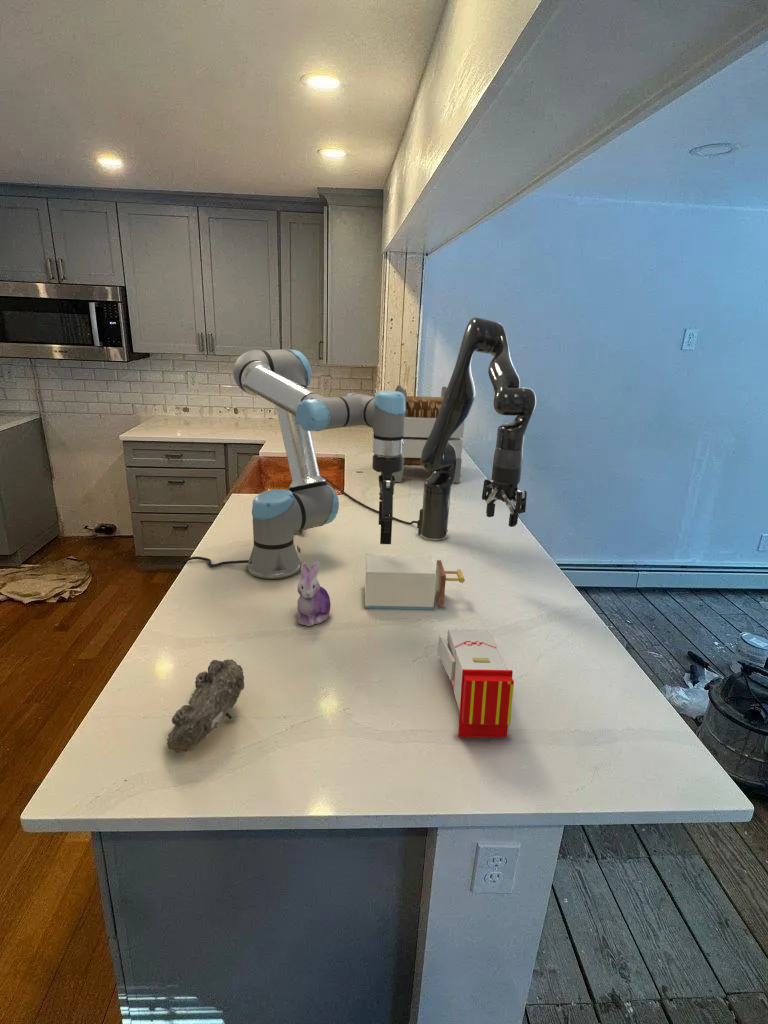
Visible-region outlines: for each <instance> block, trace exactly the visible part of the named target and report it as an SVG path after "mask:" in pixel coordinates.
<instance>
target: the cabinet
mask: <svg viewBox="0 0 768 1024" xmlns="http://www.w3.org/2000/svg"><path fill="white" fill-rule="evenodd" d="M435 584H436V566H435V564H434V560H433V557H432V555H408V554H407V555H405V554H403V555H401V554H365V568H364V609H381V610H382V609H388V610H389V609H390V610H434V608H435V597H436V592H435Z"/></svg>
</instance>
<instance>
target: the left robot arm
mask: <svg viewBox="0 0 768 1024" xmlns="http://www.w3.org/2000/svg"><path fill="white" fill-rule="evenodd" d="M232 376H233V380H234V381H235V383H236V385H237V386H238V387H239V388H240V389H241V390H242V391H243V392H245V393H246V394H248V395H250V396H254V397H257V396H258V397H259V396H260V397H261V398H263V399H265V400H266V401H268V402H269V403H272V404H273V405H275V407H276V412H277V417H278V422H279V426H280V431H281V435H282V440H283V445H284V450H285V454H286V459H287V463H288V468H289V472H290V477H291V482H290V484H289V486H288V489H287V488H286V489H285V488H278V489H275V488H273V489H268V490H264V491H261V492H259V493H258V494H256V495H255V497H254V499H253V500H252V507H251V515H252V535H253V536H252V537H253V546H252V550H251V552H250V556H249V559H244V560H243V559H242V560H241V559H240V560H227V561H220V562H216V563H212V560H211V559H210V558H208V557H204V556H189V557H187V558H185V559H184V560H182V561H181V564H186V563H187V562H190V561H195V560H199V561H205V562H207V565H208V567H211V568H217V567H220V566H224V565H235V564H236V565H237V564H247V567H248V568H247V571H248V573H249V574H250V575H252V576H254V577H256V578H259V579H264V580H280V579H282V580H283V579H286V578H290V577H292V576H294V575H296V574H297V573H298V572H299V571H301V560H300V557H299V555H298V553H299V554H301V547H300V546H299V545H295V533H297V532H300V531H302V532H303V531H306V530H309V529H313V528H317V527H318V528H319V527H323V526H324V525H327V524H330V523H332V522H333V521H334V520H335V519H336V517H337V515H338V513H339V507H340V502H339V496H338V493H337V491H335V489H334V487H333V486H332V485H328V481H326V479H327V478H326V479H324V478H325V477H324V476H323V477H324V478H323V477H321V476H322V475H321V473H320V469H319V464H318V459H317V455H316V450H315V445H314V440H313V436H312V432H321V431H323V430H324V431H326V430H333V429H340V428H347V427H355V426H366V427H369V428H373V436H372V453H373V455H372V464H371V465H372V466H371V467H372V470H373V471H375V472H377V473H380V475H378V487H379V492H378V495H379V498H378V499H379V502H378V511H379V513H378V526H379V525H380V535H379V536H380V538H379V543H380V545H392V534H393V531H392V530H393V520H394V519H393V517H394V516H393V515H394V513H393V511H394V493H395V484H396V482H395V479H394V476H392V473H395V472H396V473H397V472H400V471H401V470H402V462H403V457H402V456H401V454H402V453H403V447H402V446H405V445H406V443H405V442H403V438H404V422H405V412H406V409H405V395H404V394H403V393H401V392H398V391H395V390H379V391H376V392H375V393H374V396H372V395H367V394H363V393H360V392H357V393H356V392H350V393H347V394H346V395H345V396H344V395H343V396H332V397H331V396H330V397H325V396H322V395H320V394H318V393H316V392H315V391H313V390H310V389H309V388H308V387H309V386H310V384H311V381H312V368H311V364H310V362H309V360H308V358H307V356H305V354H303V353H302V352H301V351H299V350H297V349H289V348H283V349H252V350H248V351H246V352H244V353H242V354H241V355H240V356H239V357H238V358H237V360H236V361H235V363H234V366H233V369H232ZM320 475H321V476H320Z"/></svg>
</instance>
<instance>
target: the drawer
mask: <svg viewBox="0 0 768 1024" xmlns="http://www.w3.org/2000/svg"><path fill="white" fill-rule="evenodd" d="M435 571H436V584H435V597H436V599H437V603H438V606H444V605H445V604H444V603H445V593H446V592H445V591H446V582H447V581H448V582H459V583H461V584H463V583H465V582H466V578H465V575H464V574H463V571H462V569H460V568H459V569H457V570H445V568H444V565H443V561H442V560H441V559H436V565H435ZM447 575H456V576H457V577H447Z"/></svg>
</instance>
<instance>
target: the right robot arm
mask: <svg viewBox="0 0 768 1024" xmlns="http://www.w3.org/2000/svg"><path fill="white" fill-rule="evenodd" d="M459 347H460V348H459V351H458V353H457V358H456V361H455V364H454V368H453V371H452V374H451V377H450V379H449V381H448V385H447V386H446V387H447V390H446V392H445V395H444V398H443V401H442V404H441V407H440V410H439V413H438V416H437V418H436V421H435V424H434V426H433V429H432V431H431V433H430V435H429V437H428V439H427V441H426V443H425V446H424V448H423V450H422V454H421V464H422V466H421V467H422V468H423V470H424V471H426V472H428V473H431V475H430V476H429V477H427V478H426V479H425V480H424V482H423V493H422V496H423V497H422V506H421V508H420V509H419V516H418V520H412V521H411V522H410V521H409V522H408V521H406V520H402V519H399V518H397V517H394V516H393V520H394V521H397V522H400V523H402V524H405V525H413V524H416V528H417V529H418V530H417V535H418V536H420V538H421V539H424V540H426V541H432V542H440V541H444V540H446V539H447V538H448V532H449V529H448V525H449V517H450V516H449V514H450V504H451V494H452V493H451V491H452V486H453V484H454V483H453V482H454V477H455V470H456V462H457V455H456V450H455V448H454V446H453V445H452V444H450V443H448V440H449V439H450V437H451V436H452V434H453V433H454V432H455V431H456V430H457V428H458V427H459V426H460V425H461V424H462V423H463V421H464V420H465V421H466V419H467V417H468V416H469V415H470V412H471V409H472V406H473V404H474V402H475V399H476V387H475V381H474V379H473V374H472V360H473V355H474V352H477V353H481V354H486V355H487V354H488V355H491V356H492V358H491V361H490V362H489V365H488V367H487V373H488V378H489V380H490V383H491V386H492V387H493V408H494V411H495V412H496V413H497V414H498V415H500V416H506V417H507V416H511V417H512V416H515V418H514V419H513V420H512V421H511V422H508V423H507V422H506V423H503V424H500V425H499V426H498V428H497V432H496V442H495V443H496V444H495V449H494V453H493V461H492V471H491V478H487V479H484V480H483V486H482V494H481V499H482V500H483V501H485V503H486V509H485V510H486V511H485V513H486V517H488V518H493V517H494V516H495V511H496V501H497V500H498V501H501V502H502V503H505V505H506V507H507V508H508V510H509V512H510V513H509V516H508V517H509V518H508V527H510V528H513V527H516V526H517V525H518V522H519V521H518V520H519V514H523V513H526V507H527V498H528V497H527V496H528V492H527V491H526V490H519V487H518V485H519V484H520V482H521V475H522V467H523V460H524V443H525V436H526V432H527V429H528V426H529V423H530V421H531V418H532V416H533V414H534V411H535V408H536V406H537V397H536V393H535V391H534V390H533V389H531V388H530V387H529V388H528V387H521V380H520V376H519V374H518V373H517V371H516V367H515V366H514V364H513V361H512V358H511V353H510V347H509V342H508V337H507V333H506V329H505V327H504V326H503V324H502V323H500V322H498V321H495V320H490V319H486V318H481V317H472V318H471V319H470V320H469V321H468V323H467V324H466V327H465V330H464V333H463V336H462V340H461V343H460V346H459ZM465 421H464V422H465ZM320 476H321V477H323V478H324V479H326V482H327V483H329V484H330V485H331V486H332V487H333V488H336V489H337V490H338V491H340V492H341V493H342V494H343V495H345V496H346V497H348V498H349V499H351V501H354V502H355V503H357V504H359V505H360V506H362V507H364V508H365V509H368V510H370V511H371V512H372V511H373V512H374V513H377V514H379V510H377V509H375V508H373V507H370V506H368V505H366V504H364V503H362V502H361V501H360V500H357V499H356V498H354V497H353V496H352V495H350V494H348V493H347V492H346V491H344V490H343V489H341V488H340V487H338V486H337V485H336V484H334V483H333V482H332V481H330V480H329V479H328V478H326V477H325V476H323V475H321V474H320Z"/></svg>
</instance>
